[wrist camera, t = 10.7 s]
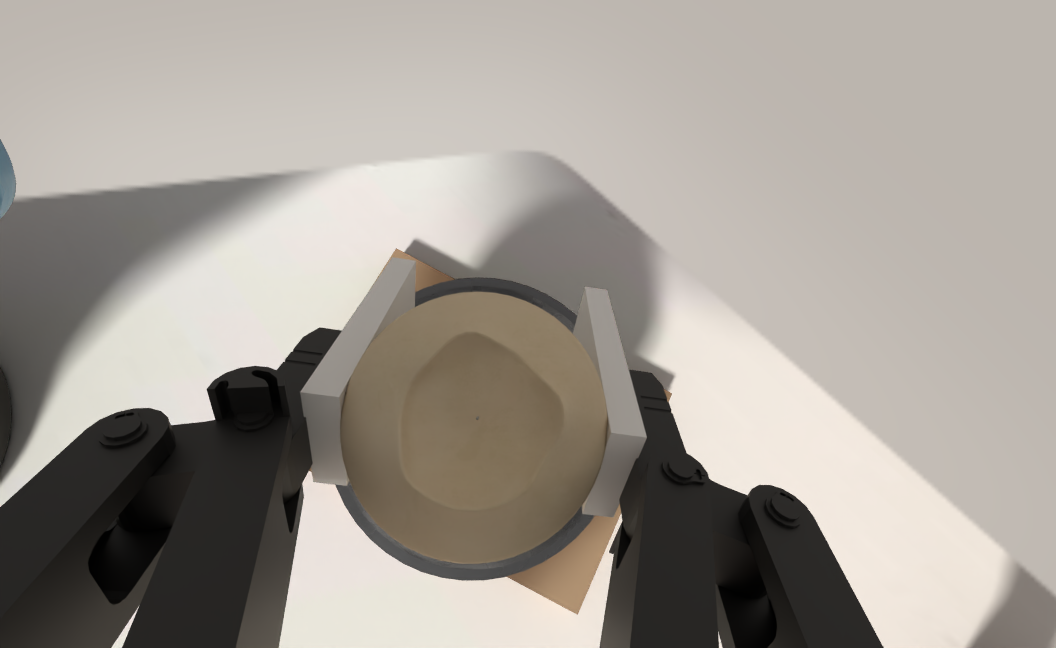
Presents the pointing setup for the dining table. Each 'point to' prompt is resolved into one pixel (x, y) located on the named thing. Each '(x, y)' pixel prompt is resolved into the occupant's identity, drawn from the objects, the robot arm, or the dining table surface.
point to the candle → (473, 427)
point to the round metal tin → (491, 568)
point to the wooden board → (580, 559)
